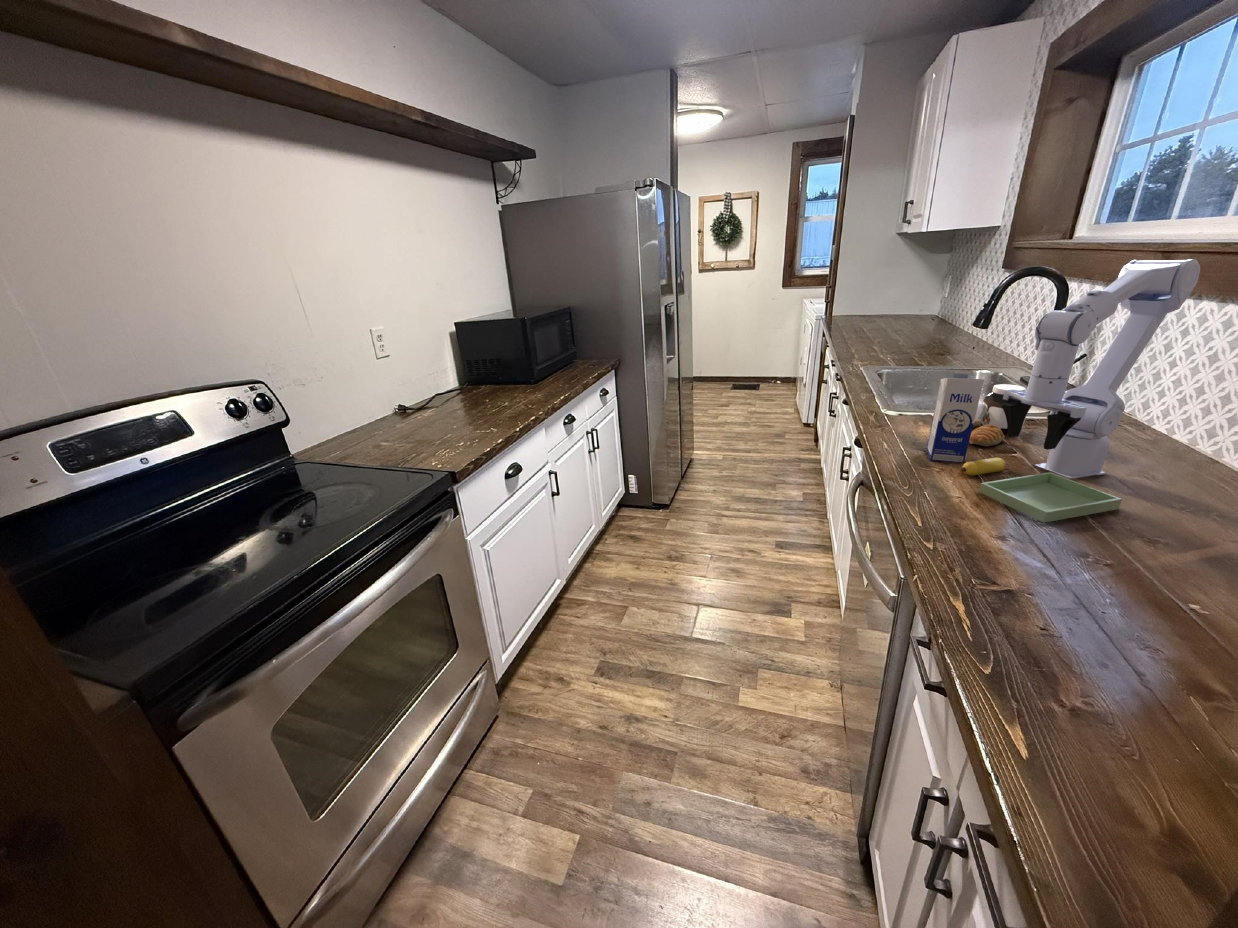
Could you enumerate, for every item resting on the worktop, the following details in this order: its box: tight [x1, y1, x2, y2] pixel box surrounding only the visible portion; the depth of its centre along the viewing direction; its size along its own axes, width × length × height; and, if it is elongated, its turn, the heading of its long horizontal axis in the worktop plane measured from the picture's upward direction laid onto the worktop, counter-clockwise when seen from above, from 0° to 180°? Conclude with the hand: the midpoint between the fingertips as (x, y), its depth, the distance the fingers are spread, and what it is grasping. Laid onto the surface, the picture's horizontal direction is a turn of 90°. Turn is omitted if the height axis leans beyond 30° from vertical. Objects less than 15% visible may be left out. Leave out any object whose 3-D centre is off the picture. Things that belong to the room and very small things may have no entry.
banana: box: [960, 457, 1007, 476], centre depth 109 cm, size 11×3×3 cm, turn 103°
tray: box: [978, 471, 1123, 524], centre depth 96 cm, size 17×13×3 cm
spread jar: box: [974, 383, 1027, 434], centre depth 134 cm, size 12×11×12 cm
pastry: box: [969, 425, 1005, 448], centre depth 126 cm, size 9×7×4 cm
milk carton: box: [925, 373, 985, 464], centre depth 115 cm, size 7×7×20 cm
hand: (1030, 442), depth 101 cm, fingers open, 7 cm apart
